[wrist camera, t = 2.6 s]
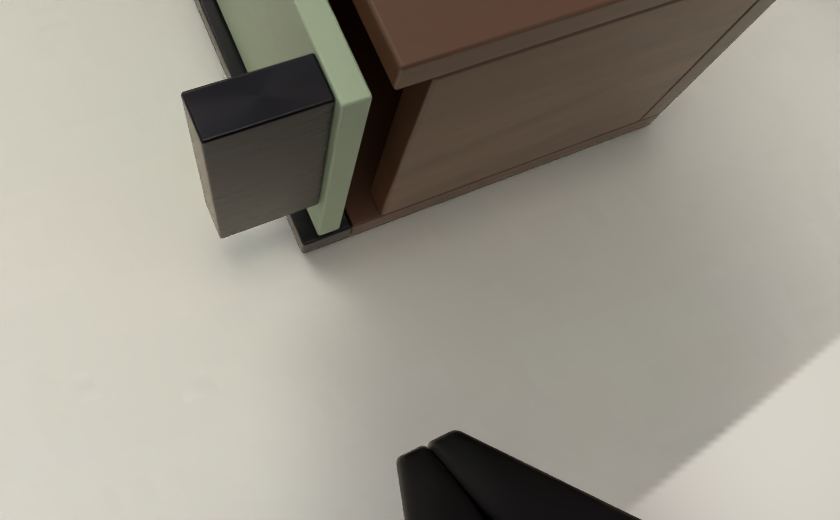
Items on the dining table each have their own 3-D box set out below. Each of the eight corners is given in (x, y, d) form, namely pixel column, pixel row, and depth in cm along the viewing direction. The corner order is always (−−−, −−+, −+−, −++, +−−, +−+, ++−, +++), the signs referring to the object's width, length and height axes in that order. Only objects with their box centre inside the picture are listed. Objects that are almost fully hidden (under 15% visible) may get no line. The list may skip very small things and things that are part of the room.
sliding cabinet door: (340, 229, 20) (374, 96, 14) (228, 270, 20) (204, 151, 13) (225, -33, 22) (204, -268, 15) (117, -5, 21) (43, -241, 14)
